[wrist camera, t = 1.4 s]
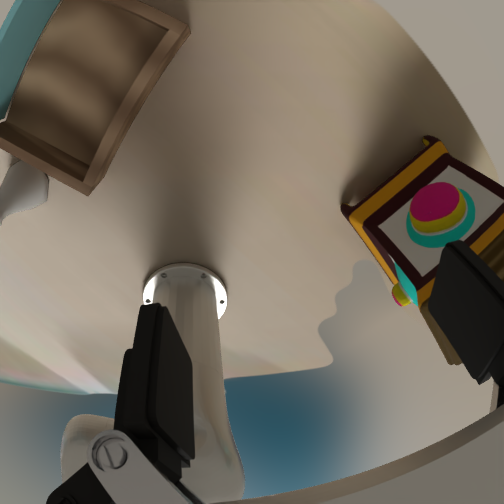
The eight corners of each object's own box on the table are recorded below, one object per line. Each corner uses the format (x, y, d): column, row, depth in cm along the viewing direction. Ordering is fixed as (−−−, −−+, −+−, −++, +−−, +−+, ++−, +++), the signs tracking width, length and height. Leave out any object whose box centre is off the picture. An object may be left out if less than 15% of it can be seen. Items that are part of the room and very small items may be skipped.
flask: (4, 161, 30) (-38, 190, 22) (45, 154, 31) (4, 182, 23) (14, 209, 34) (-21, 246, 26) (54, 205, 35) (21, 244, 27)
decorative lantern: (323, 204, 41) (453, 399, 16) (427, 119, 35) (612, 223, 10) (383, 283, 50) (472, 430, 25) (465, 213, 45) (581, 327, 20)
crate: (103, 177, 35) (88, 196, 30) (9, 126, 28) (-17, 138, 23) (191, 32, 27) (187, 25, 22) (80, -17, 21) (60, -28, 16)
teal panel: (4, 118, 26) (-31, 132, 20) (-1, 115, 26) (-36, 129, 19) (67, -10, 20) (37, -23, 13) (61, -12, 19) (30, -25, 13)
